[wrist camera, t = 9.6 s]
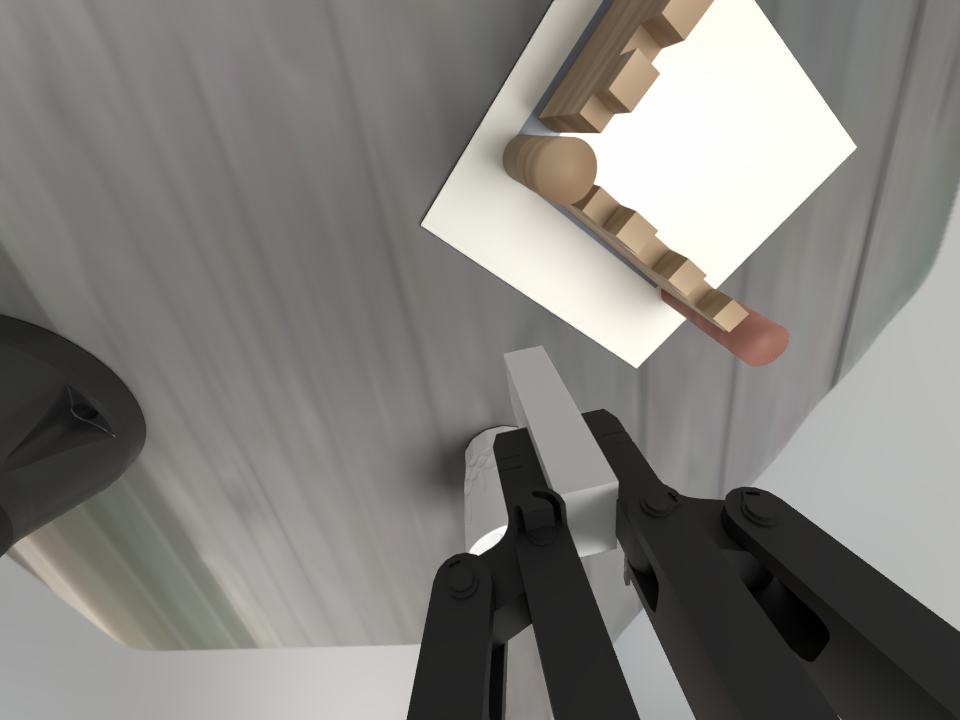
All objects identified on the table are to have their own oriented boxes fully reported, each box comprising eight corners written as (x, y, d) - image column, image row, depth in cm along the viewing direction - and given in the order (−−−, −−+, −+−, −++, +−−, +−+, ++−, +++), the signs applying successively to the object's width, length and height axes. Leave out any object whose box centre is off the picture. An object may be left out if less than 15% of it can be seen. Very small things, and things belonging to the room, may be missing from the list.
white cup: (481, 408, 32) (498, 510, 23) (560, 434, 34) (602, 534, 26) (444, 472, 35) (447, 581, 27) (518, 491, 38) (543, 597, 29)
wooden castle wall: (493, 164, 23) (525, 182, 15) (667, -111, 17) (857, -309, 10) (525, 189, 23) (570, 218, 16) (699, -66, 18) (896, -213, 10)
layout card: (420, 224, 24) (420, 225, 23) (643, -151, 17) (647, -156, 16) (634, 366, 31) (637, 369, 31) (852, 147, 24) (858, 147, 24)
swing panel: (675, 310, 28) (758, 373, 21) (537, 198, 23) (584, 230, 16) (700, 284, 27) (797, 340, 20) (563, 162, 22) (625, 177, 15)
